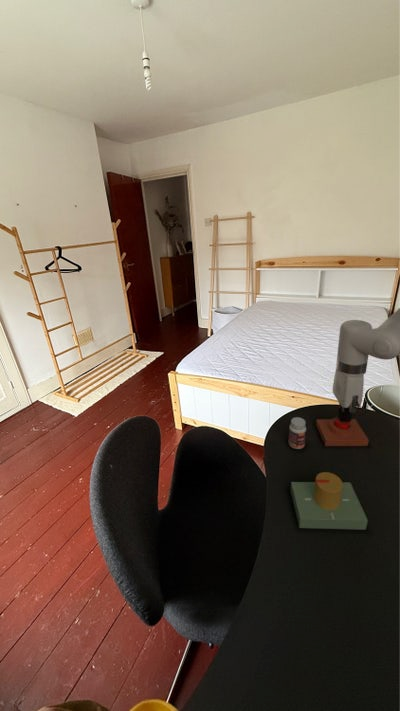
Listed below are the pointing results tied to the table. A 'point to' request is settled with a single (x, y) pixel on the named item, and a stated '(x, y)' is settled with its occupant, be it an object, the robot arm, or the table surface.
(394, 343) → the robot arm
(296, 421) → the pill bottle
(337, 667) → the table surface
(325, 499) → the dial
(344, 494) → the control panel
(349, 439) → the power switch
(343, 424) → the power button
